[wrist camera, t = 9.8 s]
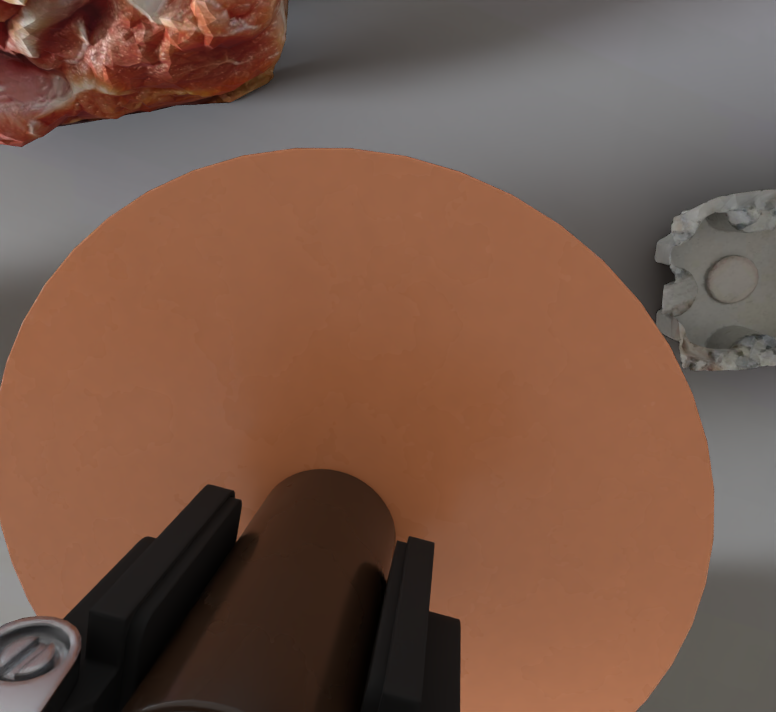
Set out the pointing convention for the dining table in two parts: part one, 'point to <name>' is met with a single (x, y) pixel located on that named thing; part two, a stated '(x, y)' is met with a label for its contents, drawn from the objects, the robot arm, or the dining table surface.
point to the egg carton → (722, 283)
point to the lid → (361, 435)
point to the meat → (129, 58)
